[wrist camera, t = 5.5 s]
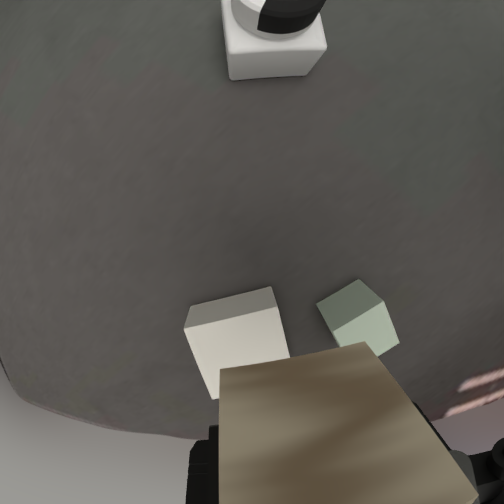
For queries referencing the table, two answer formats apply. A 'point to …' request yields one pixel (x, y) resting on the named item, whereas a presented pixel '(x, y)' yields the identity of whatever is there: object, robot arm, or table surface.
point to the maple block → (329, 436)
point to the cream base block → (235, 333)
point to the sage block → (359, 318)
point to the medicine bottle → (272, 37)
